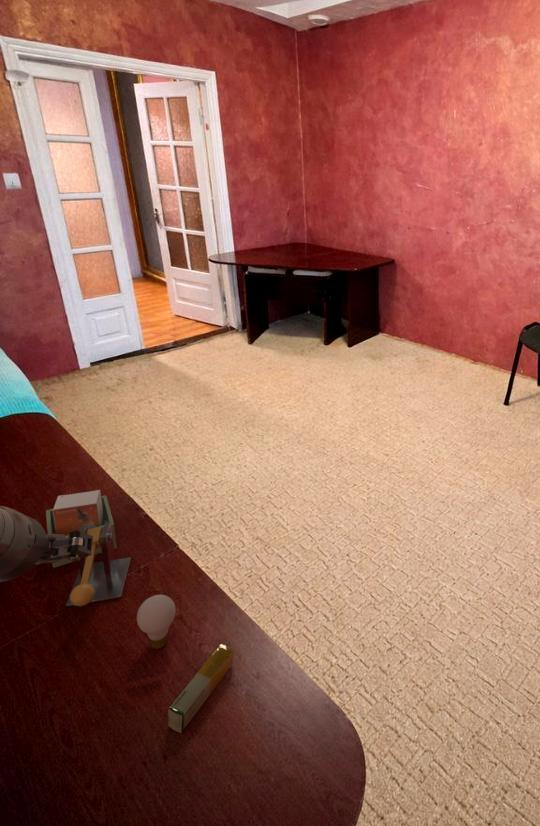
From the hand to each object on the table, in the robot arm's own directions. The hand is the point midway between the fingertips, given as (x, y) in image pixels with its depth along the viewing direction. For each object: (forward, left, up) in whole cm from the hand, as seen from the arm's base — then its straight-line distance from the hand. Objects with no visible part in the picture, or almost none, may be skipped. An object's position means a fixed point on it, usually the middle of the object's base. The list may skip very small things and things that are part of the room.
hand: (43, 557), depth 68 cm
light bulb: (+12, +6, -25) cm, 28 cm away
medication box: (+21, -5, -25) cm, 33 cm away
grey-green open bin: (-9, +36, -25) cm, 44 cm away
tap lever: (-1, +17, -18) cm, 25 cm away
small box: (-9, +36, -24) cm, 44 cm away
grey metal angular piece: (-2, +22, -25) cm, 33 cm away
